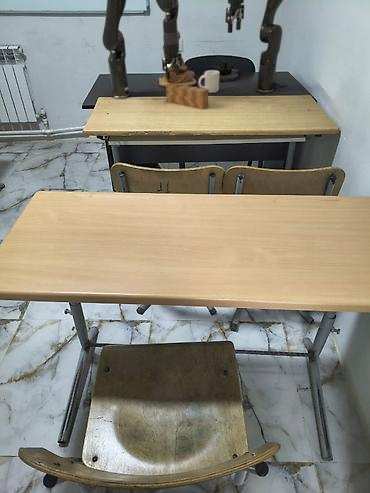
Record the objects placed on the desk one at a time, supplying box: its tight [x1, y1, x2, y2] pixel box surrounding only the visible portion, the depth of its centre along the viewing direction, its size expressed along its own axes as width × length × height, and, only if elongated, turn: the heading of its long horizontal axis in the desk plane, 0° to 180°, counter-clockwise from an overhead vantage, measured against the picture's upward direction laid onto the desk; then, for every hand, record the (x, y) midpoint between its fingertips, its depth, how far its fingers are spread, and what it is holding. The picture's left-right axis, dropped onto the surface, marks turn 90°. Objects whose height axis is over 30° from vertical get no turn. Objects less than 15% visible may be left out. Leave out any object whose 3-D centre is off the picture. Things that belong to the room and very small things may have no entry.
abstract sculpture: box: [202, 58, 240, 83], centre depth 228 cm, size 25×9×20 cm
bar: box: [165, 83, 209, 110], centre depth 191 cm, size 24×5×9 cm, turn 56°
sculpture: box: [157, 30, 198, 88], centre depth 214 cm, size 27×24×30 cm
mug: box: [197, 69, 220, 94], centre depth 205 cm, size 12×8×10 cm
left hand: (173, 77), depth 189 cm, fingers open, 8 cm apart
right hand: (234, 31), depth 176 cm, fingers open, 8 cm apart
